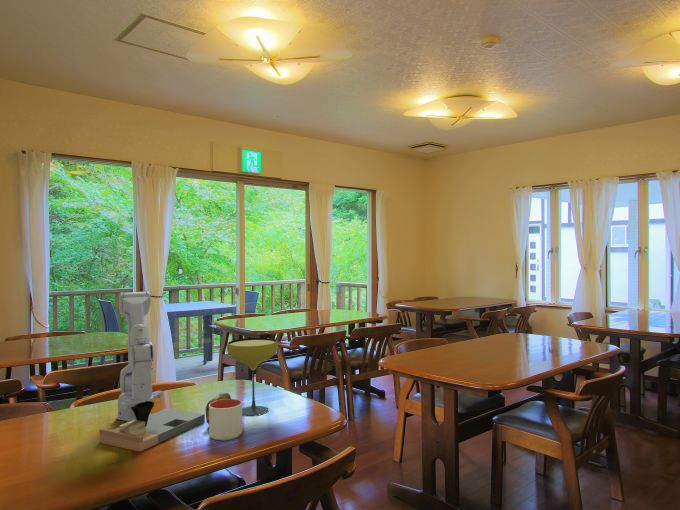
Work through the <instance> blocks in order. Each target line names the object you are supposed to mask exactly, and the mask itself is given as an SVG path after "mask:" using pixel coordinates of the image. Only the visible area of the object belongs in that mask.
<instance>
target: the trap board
mask: <svg viewBox="0 0 680 510" xmlns="http://www.w3.org/2000/svg"><path fill="white" fill-rule="evenodd" d="M150 414H151V415H149V418H148V422H147V426H146V427H145V432H143V433H141V434H138V435H133V434H128V433H123V432H120V426H118V427H115V428H112V429H108V428H99V443H100V442H101V443H100V444H104V445H108V446H114V447H118V448H122V449H126V450H127V449H128V450H131V451H136V452H143V451H144V450H147V449H149V448H151V447H153V446H155V445H158V444H160V443H162V442H164V441H166V440H169V439H170V438H172V437H174V436H177V435H179V434H182V433H183V432H185V431H187V430H189V429H192V428H194V427H196V426H198V425H201V424H202V423H204V422H206V413H200V412H193V411H187V410H181V409H176V408H175V409H174V408H170V407H168V408H167V407H166V408H164V409H161V410H159V411H156V412H154V413H150Z"/></svg>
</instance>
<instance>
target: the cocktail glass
mask: <svg viewBox="0 0 680 510" xmlns="http://www.w3.org/2000/svg"><path fill="white" fill-rule="evenodd" d="M226 351H227V355H229V356H230V358H232V359H233V360H236V361H237V362H240V363H243V364H245V365H246V366H247V367H248V368H249V369H250V371H252V373H251V374H252V375H251V376H252V377H251V378H252V381H251V382H252V383H251V384H252V387H251V388H252V389H251V390H252V396H251V397H252V398H251V399H252V400H251V405H250V406H244V407H242V416H244V415H247V416H246V417H255V416H254V415H257V416H260V415H259V414H262V413H265V412H267V411H268V409H269V407H268V406H264V405H257V404H256V399H255V398H256V397H255V371H256V369H257V368H258V367H259V366H260V364H262V363H264V362H266V361H267V360H268V359H270V358H272V357H274V356H275V354H276V353H277V352H278V351H279V344H278V339H276V338H271V337H248V338H247V337H246V338H240V339H233V340H230V341H228V343H227V345H226ZM268 412H269V411H268ZM268 412H267V413H268ZM265 414H266V413H265ZM262 415H263V414H262Z"/></svg>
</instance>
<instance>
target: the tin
mask: <svg viewBox="0 0 680 510" xmlns="http://www.w3.org/2000/svg"><path fill="white" fill-rule="evenodd" d="M223 399H232V397H231V395H230V393H228V392H224V393H218V395H216V396H214V397H212V398H211V399H210V400H209V401H208V402H207V403H206V407H205V422H206V423H207V424H208V425H209V404H210V403H212V402H214V401H217V400H223Z"/></svg>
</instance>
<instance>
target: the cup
mask: <svg viewBox="0 0 680 510" xmlns="http://www.w3.org/2000/svg"><path fill="white" fill-rule="evenodd" d="M242 408H243V402H242V401H241V400H239V399H234V398H231V399H223V400H217V401H214V402H212V403H210V404H209V424H208V433H209V437H210V438H211V439H213V440H216V441H221V442H222V441H230V440H234V439H236V438H238V437H240V436H241V434H242V433H243V415H242Z"/></svg>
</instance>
